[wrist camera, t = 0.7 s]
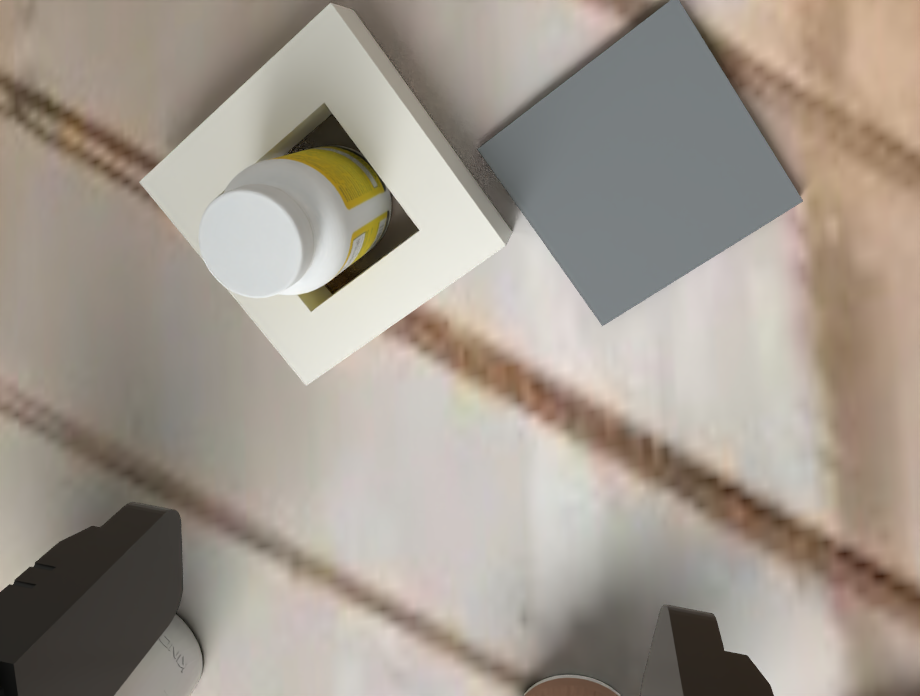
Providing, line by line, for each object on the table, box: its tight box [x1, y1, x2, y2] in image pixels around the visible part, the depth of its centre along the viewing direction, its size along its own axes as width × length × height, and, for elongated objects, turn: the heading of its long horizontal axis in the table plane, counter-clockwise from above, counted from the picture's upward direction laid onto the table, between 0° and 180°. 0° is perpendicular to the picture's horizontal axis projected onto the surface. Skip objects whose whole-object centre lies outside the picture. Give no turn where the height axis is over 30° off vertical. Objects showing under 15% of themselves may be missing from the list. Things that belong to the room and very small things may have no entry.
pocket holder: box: [140, 3, 513, 386], centre depth 33 cm, size 12×12×3 cm
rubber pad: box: [478, 0, 803, 326], centre depth 31 cm, size 10×10×1 cm
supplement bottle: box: [198, 145, 392, 298], centre depth 30 cm, size 5×5×10 cm
